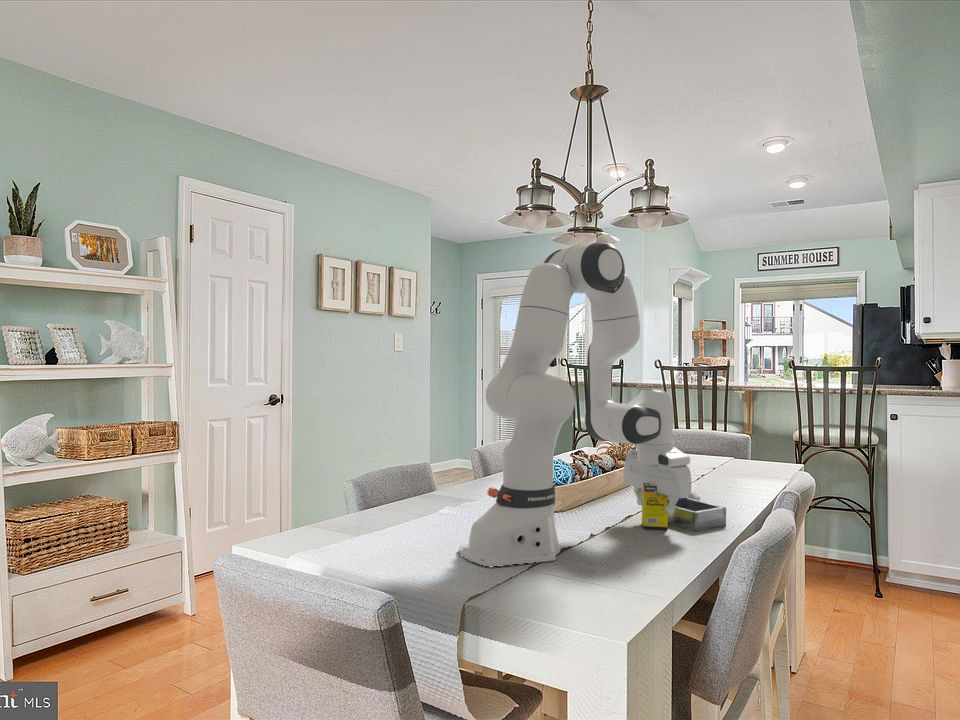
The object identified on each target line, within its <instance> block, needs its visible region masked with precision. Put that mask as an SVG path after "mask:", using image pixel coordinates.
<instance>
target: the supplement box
mask: <svg viewBox="0 0 960 720" xmlns="http://www.w3.org/2000/svg"><path fill="white" fill-rule="evenodd" d="M667 505H668V495H664V494H660V493H658V491H657V486H656V485H652V484H648V483H643V489H642V506H641V525H642V529H644V530H654V531H655V530H656V531H660V530H661V531H668V526H669V523H668V513H666V512H665V506H667Z"/></svg>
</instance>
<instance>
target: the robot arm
mask: <svg viewBox="0 0 960 720" xmlns="http://www.w3.org/2000/svg"><path fill="white" fill-rule="evenodd" d="M625 269H626V268H625V261H624V259H623V256H622V253H621V252H620V250H619V249H618V248H617V247H616V246H615V245H614V244H612V243H607V242H599V241H598V242H593V243H588V244H577V245H572V246H568V247H566V248H562V249H561V248H560V249H557V250H555V251H554V252H552V253H550V255H548V256H547V257H546V258H545V260H544V261H543V263H540V264H537V265H535V266H534V267H533V268H532V269H531V270H530V272H529V273H528V276H527V278H526V281H525V284H524V286H523V291H522V294H521V298H520V303H519V308H518V311H517V312H518V313H517V318H516V321H515V327H514V328H515V329H514V332H513V336H512V337H513V338H512V341H511V345H510V347H509V350H508V353H507V355H506V357H505V359H504V361H503V363H502V365H501V366H500V367H501V368H500V369H499V371H498V373H497V374H496V375H495V376H494V377H493V378H492V379H491V380H490V381H489V383H488V385H487V387H486V391H485V401H486V404H487V406H488V407H489V409H490V410H491V411H492V412H493V413H495V414H496V415H498V416H499V417H501V418H503V419H505V420H507V421H513V422H515V425H514V429H513V434H512V436H511V440H510V441H509V443H507V445H506V446H505V447H504V449H503V453H502V484H501V486H500V488H499V489H497V488H495V487H492V486H491V487H488V489H487V490H486V491H487V492H486V494H487V497H491V498H494V499H496V500H495V503H494V504H493V505H492V506H491V507H490V508H489V509H488V510H487V511H486V512H484V513H483V514H482V515H481V516H479V518H478V519H477V520H475V521H474V522H473V524H472V525H471V528H470V533H469V539H468V540H469V541H468V543H467V544H466V543H465V544H463V545H460V546H459V548H458V549H459V550H458V554H459V553H460V554H461V555H462V556H463V557H465V558H467V559H468V560H470V561H473V562H475V563H477V564H481V565H485V566H498V565H510V566H513V565H512V564H519V565H525V564H524V563H528V564H534V562H536V563H537V564H538V563H544V562H545V563H546V562H553V561H556V560H557V555H558V554H559V553H560V552H561V547H560V543H559V537H558V534H557V529H556V522H555V509H554V508H555V503H556V487H555V486H556V485H554V456H555V455H554V454H555V448H556V444H557V443H556V442H557V439H558V436H559V435H560V434H559V433H560V431H561V428H562V427H563V424H564V423H565V422H566V421H568V419H569V418H570V417H571V415H572V414H573V412H574V410H575V405H576V397H575V392H574V389H573V387H572V386H571V385H570V384H569V383H568V382H567V381H566V380H564V379H562V378H559V377H557V376H554V375H552V374H547V371H548V369H549V367H550V365H551V364H552V362H553V361H554V359H556V358H557V356H559V355H560V354H561V351H562V350H563V347H564V342H565V334H566V330H567V323H568V318H569V312H570V304H571V299H572V297H573V296H574V294H585V296H586V297H587V298H588V301H589V302H590V314H591V323H592V337H591V342H590V344H589V345H588V349H587V355H586V356H587V357H586V358H587V359H586V367H587V368H586V371H587V372H586V374H587V375H586V377H587V378H586V379H587V382H586V383H587V386H586V387H587V402H586V403H587V404H586V410H585V415H584V425H585V428H586V430H587V431H586V432H587V433H588V434H589V436H590V437H591V438H593V439H594V440H595V441H598V442H614V443H620V444H628V445H636V449H630V450H628V451H627V452H626V454H625V460H624V467H623V477H622V479H623V482H624V484H625V485H627V486H629V487H630V486H631V487H633V492H634V494H635V497H636V498H637V500H636V504H637V505H639V506H641V507H642V489H643V483H648V484H652V485H656V486H657V491H658V493H660V494H664V495H668V500H670V501H669V503H668V505H667V506H665V512H666V513H669V514H673V513H674V512H675V505H676V503H677V502H678V498H685V497H688V496H689V495H690V494H691V490H692V472H691V469H690V467H689V466H688V465H690V463H691V457H690V456H689V455H688V454H687V453H684V452H683V451H681V450H680V449H679V448H677V447H675V441H674V438H673V429H674V425H675V423H674V422H675V421H674V419H675V418H674V417H675V416H674V413H675V412H674V405H673V399H672V396H671V394H670V393H668V392H667V391H666V390H665V391H664V390H661V389H653V388H644V389H643V388H642V389H641V390H639V393H638V395H637V396H636V397H634V398H633V399H631V400H630V401H628V402H626V403H621V402H620V403H619V402H615V401H614V399H613V396H612V368H613V365H614V363H615V362H616V361H617V360H618V359H619V358H621V357H622V356H624V355H625V354H628V353H629V352H630V351H631V350H633V348H634V347H635V346H636V344H637V343H638V342H639V340H640V336H641V322H640V321H641V320H640V315H639V307H638V303H637V298H636V293H635V290H634V286H633V284H632V281H631V278H630V277H629V276H628V275H627V274H626V270H625ZM460 554H459V555H460ZM461 555H460V556H461ZM462 556H461V557H462ZM463 557H462V558H463ZM465 558H464V559H465ZM468 560H467V561H468ZM470 561H469V562H470ZM475 563H474V564H475ZM477 564H476V565H477ZM481 565H480V566H481ZM485 566H484V567H485Z"/></svg>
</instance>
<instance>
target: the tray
mask: <svg viewBox="0 0 960 720" xmlns="http://www.w3.org/2000/svg"><path fill="white" fill-rule="evenodd" d="M669 501H670V500H668V503H669ZM668 524H670V525H674V526H675V527H680V528H682V529H686V530H689V531H693V532H699V531H703V530H704V531H705V530H709V529H715V528H719V527H725V526H727V507H725V506H722V505H717V504H714V503H710V502H706V501H702V500H700V501H698V500H695V499H691V498H687V497H685V498H678V502H677V503H676V505H675V512H674V513H673V514H669V513H668Z"/></svg>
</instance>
